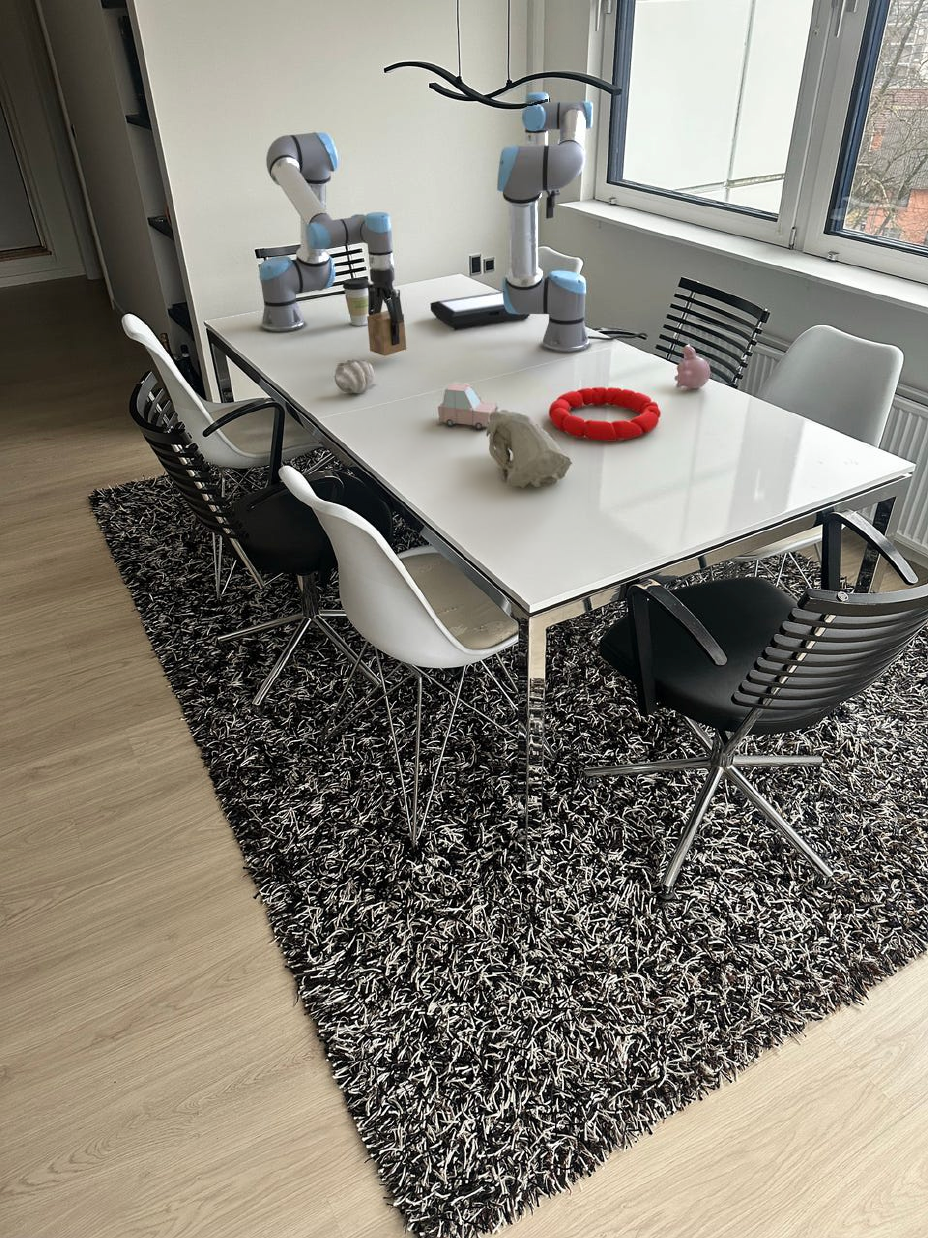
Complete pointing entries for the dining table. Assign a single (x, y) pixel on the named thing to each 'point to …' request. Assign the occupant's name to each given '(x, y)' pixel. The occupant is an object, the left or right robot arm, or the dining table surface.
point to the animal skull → (525, 450)
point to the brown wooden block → (384, 334)
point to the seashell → (354, 376)
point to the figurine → (692, 370)
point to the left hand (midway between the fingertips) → (387, 341)
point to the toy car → (465, 406)
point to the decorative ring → (604, 428)
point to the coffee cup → (357, 300)
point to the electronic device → (474, 311)
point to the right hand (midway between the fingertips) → (535, 215)
